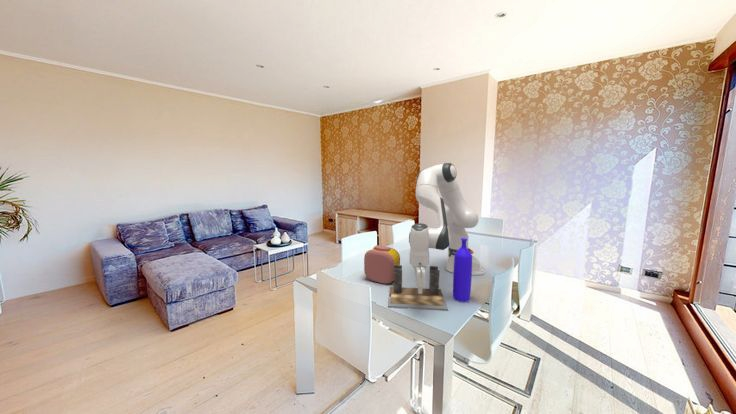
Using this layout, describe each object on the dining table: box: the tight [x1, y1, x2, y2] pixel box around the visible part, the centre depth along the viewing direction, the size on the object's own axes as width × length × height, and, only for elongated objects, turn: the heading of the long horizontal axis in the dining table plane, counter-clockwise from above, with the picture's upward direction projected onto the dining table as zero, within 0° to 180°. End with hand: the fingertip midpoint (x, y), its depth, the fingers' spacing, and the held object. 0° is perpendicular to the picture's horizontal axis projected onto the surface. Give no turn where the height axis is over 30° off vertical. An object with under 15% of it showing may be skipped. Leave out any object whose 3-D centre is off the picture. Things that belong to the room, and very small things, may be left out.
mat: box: [387, 297, 449, 311], centre depth 128 cm, size 27×8×1 cm, turn 84°
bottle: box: [452, 238, 473, 303], centre depth 132 cm, size 8×8×30 cm
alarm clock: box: [363, 244, 401, 285], centre depth 155 cm, size 18×11×19 cm, turn 61°
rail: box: [390, 294, 445, 306], centre depth 128 cm, size 24×3×3 cm, turn 84°
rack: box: [389, 264, 444, 298], centre depth 138 cm, size 26×8×14 cm, turn 84°
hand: (419, 288), depth 127 cm, fingers open, 8 cm apart
